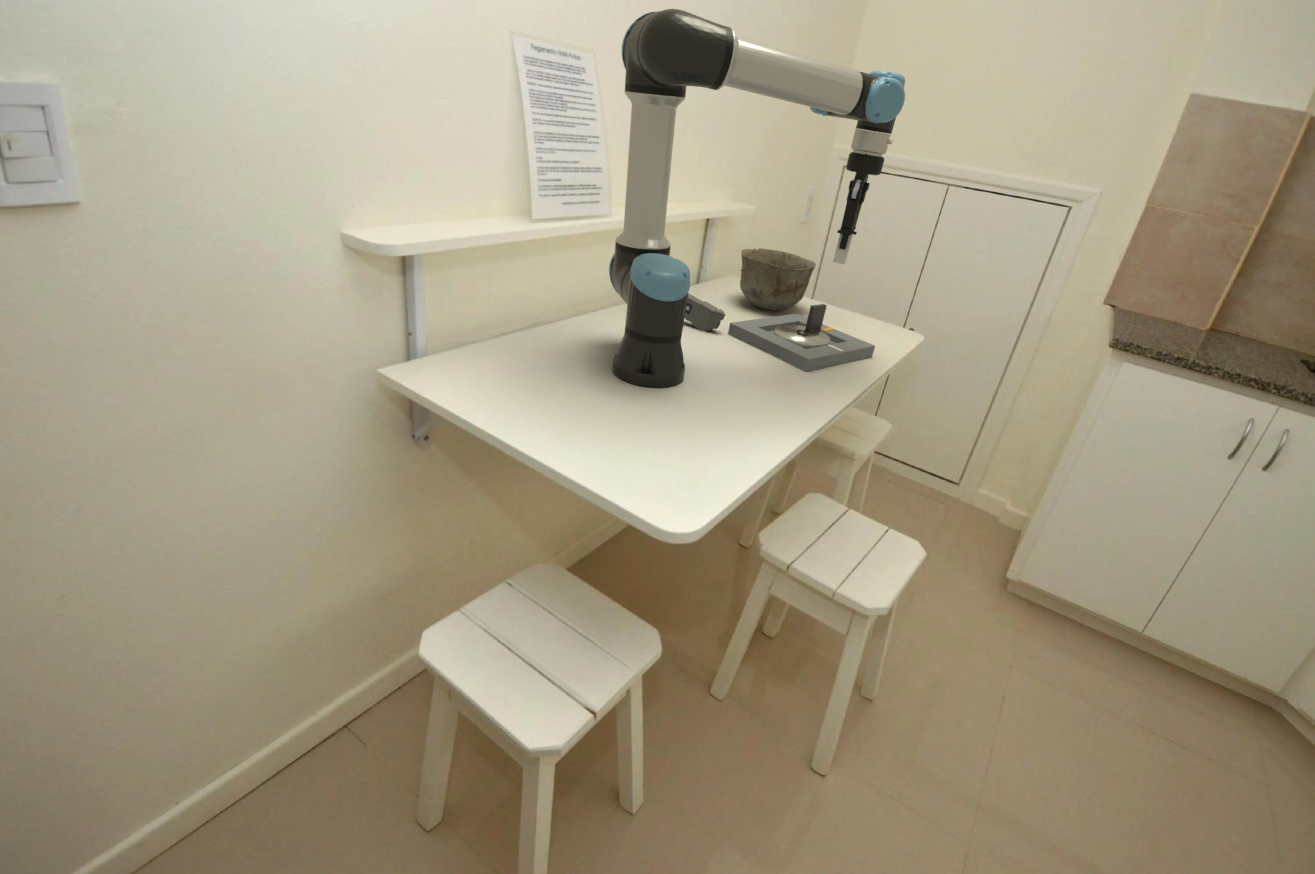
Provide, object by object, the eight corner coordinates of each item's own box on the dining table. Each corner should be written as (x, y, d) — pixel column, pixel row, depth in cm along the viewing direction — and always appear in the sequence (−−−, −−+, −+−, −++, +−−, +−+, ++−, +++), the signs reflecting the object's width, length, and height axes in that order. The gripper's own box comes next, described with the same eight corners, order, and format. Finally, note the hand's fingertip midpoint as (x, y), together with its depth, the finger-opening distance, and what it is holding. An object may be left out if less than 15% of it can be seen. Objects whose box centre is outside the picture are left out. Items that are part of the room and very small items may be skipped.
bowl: (762, 293, 208) (772, 245, 201) (819, 314, 195) (831, 264, 188) (716, 300, 194) (724, 249, 187) (773, 323, 181) (785, 269, 174)
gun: (694, 361, 172) (723, 316, 163) (623, 305, 176) (648, 258, 167) (699, 358, 174) (728, 313, 166) (630, 303, 179) (654, 256, 170)
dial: (840, 345, 166) (848, 312, 162) (805, 352, 157) (813, 318, 153) (797, 327, 175) (804, 296, 171) (762, 333, 166) (769, 300, 162)
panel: (805, 371, 150) (809, 358, 149) (727, 334, 167) (730, 322, 166) (871, 356, 166) (875, 345, 164) (794, 324, 183) (797, 312, 182)
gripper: (882, 157, 135) (851, 271, 146) (887, 155, 146) (858, 261, 157) (846, 151, 137) (818, 263, 148) (854, 150, 148) (827, 255, 159)
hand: (839, 262), depth 152 cm, fingers closed
